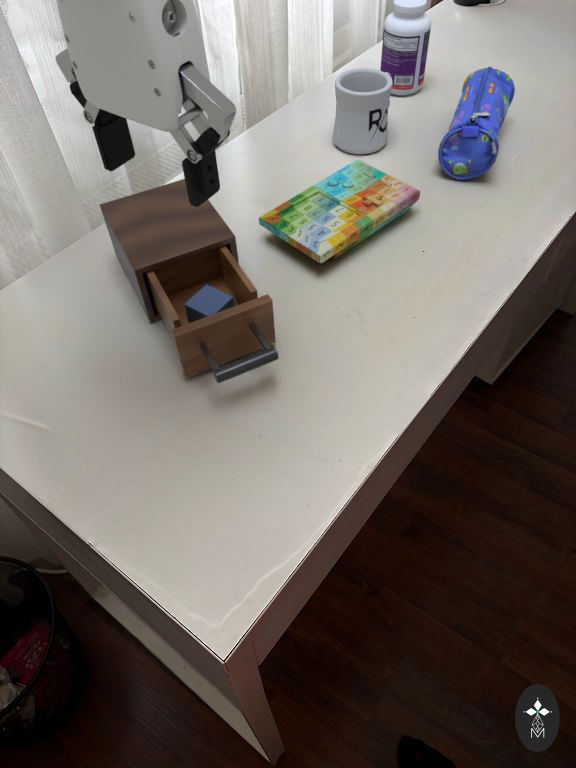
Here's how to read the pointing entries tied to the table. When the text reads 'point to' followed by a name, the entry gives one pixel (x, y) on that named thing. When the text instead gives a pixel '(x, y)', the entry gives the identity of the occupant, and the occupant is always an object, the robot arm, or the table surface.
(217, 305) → the block
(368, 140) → the mug
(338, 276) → the table surface
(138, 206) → the cabinet
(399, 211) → the puzzle game
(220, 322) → the drawer
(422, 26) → the pill bottle
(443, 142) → the pencil case
